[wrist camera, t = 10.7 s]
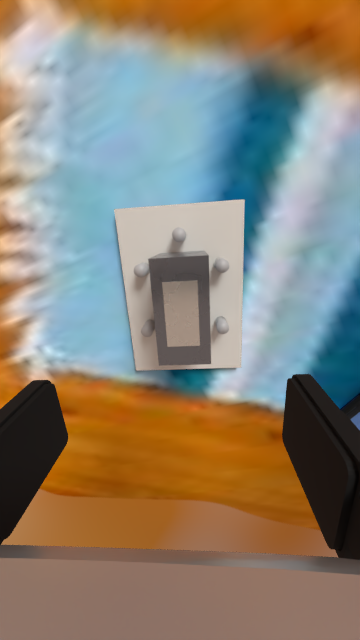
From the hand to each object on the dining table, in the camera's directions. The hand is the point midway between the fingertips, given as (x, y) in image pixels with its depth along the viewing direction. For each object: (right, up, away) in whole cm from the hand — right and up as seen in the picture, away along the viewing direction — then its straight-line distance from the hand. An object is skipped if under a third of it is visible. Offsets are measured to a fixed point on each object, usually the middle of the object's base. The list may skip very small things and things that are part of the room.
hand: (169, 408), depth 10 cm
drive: (+1, +7, +19) cm, 21 cm away
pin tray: (+1, +7, +20) cm, 22 cm away
